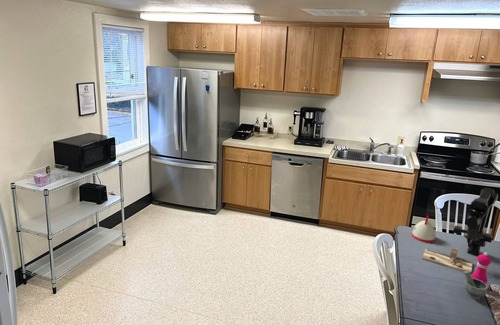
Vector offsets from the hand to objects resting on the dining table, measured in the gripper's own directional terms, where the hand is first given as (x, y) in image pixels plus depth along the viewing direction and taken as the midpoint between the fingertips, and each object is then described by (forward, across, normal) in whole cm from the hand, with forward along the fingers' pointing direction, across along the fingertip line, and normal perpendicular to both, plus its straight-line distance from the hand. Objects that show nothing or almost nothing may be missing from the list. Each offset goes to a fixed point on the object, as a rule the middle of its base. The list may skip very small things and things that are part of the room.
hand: (469, 247), depth 207 cm
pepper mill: (+11, +7, -21) cm, 25 cm away
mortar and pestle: (+11, +5, -31) cm, 33 cm away
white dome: (+12, -26, +21) cm, 35 cm away
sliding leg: (+9, -6, -2) cm, 12 cm away
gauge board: (+11, -9, -3) cm, 15 cm away
